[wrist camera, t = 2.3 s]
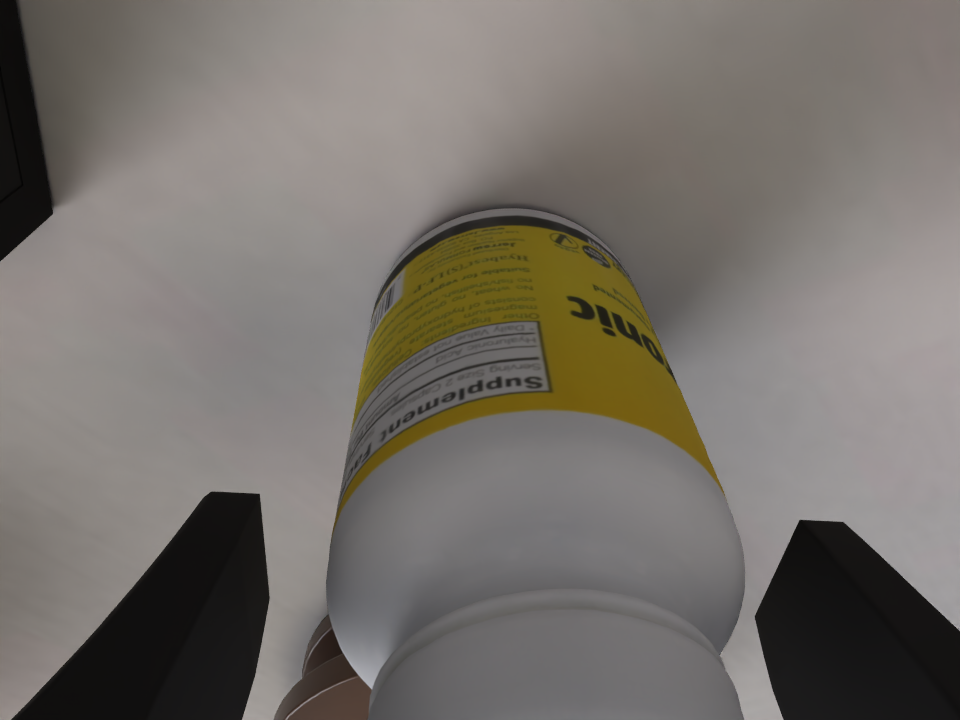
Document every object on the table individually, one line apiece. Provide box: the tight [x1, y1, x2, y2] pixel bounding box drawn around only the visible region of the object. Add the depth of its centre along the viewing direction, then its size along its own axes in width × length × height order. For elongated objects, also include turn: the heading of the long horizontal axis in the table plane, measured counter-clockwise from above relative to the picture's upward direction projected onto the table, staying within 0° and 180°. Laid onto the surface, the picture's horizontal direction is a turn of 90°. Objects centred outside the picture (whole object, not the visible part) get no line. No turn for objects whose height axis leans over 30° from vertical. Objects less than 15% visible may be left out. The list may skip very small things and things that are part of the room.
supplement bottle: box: [326, 208, 745, 720], centre depth 11 cm, size 5×5×10 cm
